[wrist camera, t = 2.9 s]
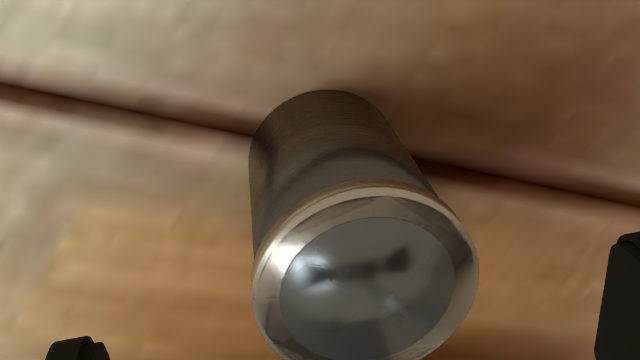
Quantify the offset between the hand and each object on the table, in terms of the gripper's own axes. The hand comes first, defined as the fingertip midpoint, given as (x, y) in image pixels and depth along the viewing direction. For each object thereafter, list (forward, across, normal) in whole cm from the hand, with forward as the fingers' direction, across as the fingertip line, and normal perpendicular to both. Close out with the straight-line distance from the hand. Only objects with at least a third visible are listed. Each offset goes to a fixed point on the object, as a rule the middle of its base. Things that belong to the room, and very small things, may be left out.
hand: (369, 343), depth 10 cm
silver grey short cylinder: (+9, 0, +1) cm, 9 cm away
